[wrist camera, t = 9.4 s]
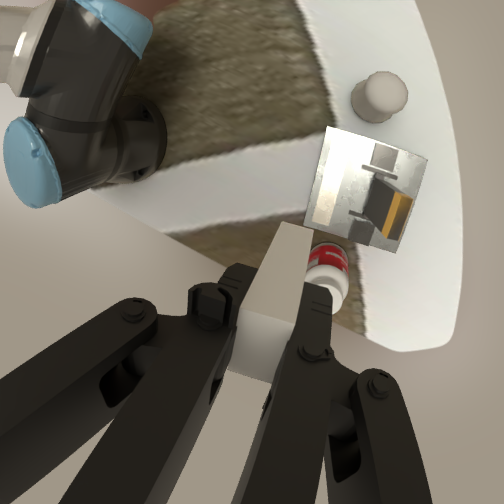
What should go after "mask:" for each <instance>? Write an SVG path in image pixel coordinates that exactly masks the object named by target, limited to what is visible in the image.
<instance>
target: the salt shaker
mask: <svg viewBox="0 0 504 504" xmlns="http://www.w3.org/2000/svg"><path fill="white" fill-rule="evenodd" d="M407 101H408V90H407V88H406V86H405V83H404V82H403V81H402V80H401V79H400V78H399V77H398V76H397V75H395V74H393V73H390V72H376V73H374V74H372V75H370V76H369V77H368V79H367V80H363V81H362V82H360V83H358V84H356V86H355V88H354V89H353V91H352V95H351V103H352V105H353V108H354V111H355V112H356V113H357V114H358V115H359V116H360V117H361V118H362V119H364V120H366V121H369V122H371V123H381V122H384V121H386V120H388V119H390V118H391V116H392V114H395V113H397V112H399V111H401V110H402V109H403V108H404V106H405V104H406V103H407Z"/></svg>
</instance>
